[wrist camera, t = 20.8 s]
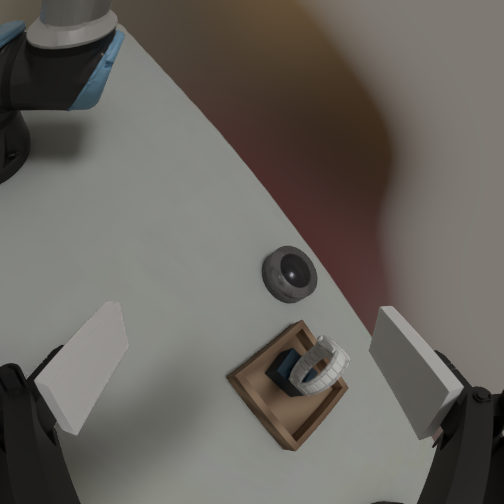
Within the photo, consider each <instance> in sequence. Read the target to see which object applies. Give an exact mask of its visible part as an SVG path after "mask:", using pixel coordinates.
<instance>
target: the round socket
mask: <svg viewBox="0 0 504 504" xmlns="http://www.w3.org/2000/svg"><path fill="white" fill-rule="evenodd" d="M262 276H263V280H264V283H265V285H266V287H267V289H268V290H269V292H270V293H271V294H272V295H273V296H274V297H275V298H277V299H278V300H280V301H282V302H285V303H296V302H298V301H300V300H302V299H303V298H305V297H307V296H309V295H310V294H312V293H313V292H314V290H315V288H316V286H317V273H316V269H315V267H314V265H313V263H312V261H311V260H310V258H309V257H308V256H307V255H306V254H305V253H304V252H302V251H301V250H300V249H298V248H295V247H292V246H283V247H280V248H278V249H277V250H276V251H275V252H274V253H273V254H272V255H270V256H269V257H268V258H267V259H266V260H265V262H264V264H263V268H262Z"/></svg>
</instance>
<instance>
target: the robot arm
mask: <svg viewBox="0 0 504 504" xmlns="http://www.w3.org/2000/svg"><path fill="white" fill-rule="evenodd" d="M111 3H112V0H42V5H41V12H40V17H38V18H37V19H36V20H35V22H33V23H32V24H31V26H30V27H29V28H28V30H27V32H25V31H24V30H25V28H26V26H25V22H24V21H19V20H18V21H12V22H8V23H5V24H2V25H0V183H2V182H4V181H5V180H7V179H8V178H10V177H11V176H12V175H13V174H14V173H16V172H17V171H18V169H19V168H20V167H21V166H22V165H23V163H24V162H25V160H26V159H27V157H28V154H29V151H30V134H29V130H28V128H27V126H26V124H25V121H24V119H23V117H22V115H21V112H20V110H66V111H71V110H86V109H90V108H92V107H94V106H95V105H96V104H97V103H98V101H99V99H100V97H101V94H102V92H103V89H104V87H105V84H106V81H107V79H108V76H109V73H110V71H111V68H112V65H113V63H114V60H115V58H116V56H117V54H118V51H119V49H120V46H121V44H122V42H123V39H124V36H125V34H124V33H123V32H120V31H118V30H115V29H116V26H117V16H116V15H115V13H114V12H112V11H111V10H110V6H111ZM128 348H129V344H128V340H127V336H126V331H125V326H124V322H123V317H122V312H121V307H120V302H113V301H107V302H106V303H105V304H104V305H103V306H102V307H101V308H100V309H99V310H98V311H97V312H96V313H95V314H94V315H93V316H92V317H91V318H90V319H89V320H88V321H87V322H86V323H85V324H84V325H83V326H82V327H81V328H80V329H79V330H78V331H77V333H76V334H75V335H74V336H73V337H72V338H71V339H70V340H69V341H68V342H67V343H66V344H65V345H61V346H59V347H58V348H56V349H54V350H53V351H52V352H51V353H50V354H49V355H48V356H47V358H45V360H44V361H43V362H42V363H41V364H40V365H39V366H38V367H37V369H36V370H35V371H34V372H33V373H32V374H31V375H30V376H29V378H28V379H27V380H26V378H25V376H24V374H23V372H22V370H21V368H20V367H19V366H18V365H17V364H14V363H8V364H5V365H3V366H1V367H0V504H81V503H80V501H79V499H78V496H77V494H76V491H75V489H74V486H73V484H72V481H71V478H70V475H69V473H68V470H67V467H66V464H65V461H64V457H63V454H62V451H61V447H60V443H59V440H58V436H57V432H56V430H55V428H54V425H55V423H56V421H57V422H58V424H59V425H60V427H61V428H62V430H64V431H66V432H69V433H71V434H74V435H76V436H77V435H78V433H79V431H80V430H81V428H82V426H83V424H84V422H85V420H86V419H87V417H88V415H89V413H90V411H91V410H92V408H93V406H94V404H95V403H96V401H97V399H98V397H99V396H100V394H101V392H102V391H103V389H104V387H105V385H106V384H107V382H108V380H109V379H110V377H111V375H112V374H113V372H114V370H115V369H116V367H117V365H118V364H119V362H120V361H121V359H122V357H123V356H124V354H125V352H126V351H127V349H128ZM369 352H370V354H371V355H372V357H373V359H374V360H375V362H376V364H377V365H378V367H379V369H380V370H381V372H382V374H383V376H384V377H385V379H386V381H387V382H388V384H389V386H390V388H391V389H392V391H393V393H394V395H395V397H396V398H397V400H398V402H399V404H400V405H401V407H402V409H403V411H404V413H405V415H406V416H407V418H408V420H409V422H410V424H411V426H412V428H413V429H414V431H415V433H416V435H417V437H418V439H419V440H421V439H424V438H427V437H429V436H432V435H434V434H435V432H436V430H437V429H438V428H439V426H441V428H442V429H443V432H442V433H441V435H440V436H439V437H438V439H437V440H436V441H435V443H434V444H433V446H432V448H434V447H435V446H436V444H437V443H438V445H437V449H436V452H435V455H434V459H433V462H432V465H431V468H430V471H429V474H428V477H427V479H426V482H425V485H424V487H423V490H422V492H421V495H420V497H419V500H418V502H417V504H504V436H503V435H502V431H503V430H504V390H503V391H502V393H501V394H493V395H492V394H491V393H490V392H489V391H488V390H487V389H485V388H483V387H472V386H471V385H470V384H469V383H468V382H467V381H466V379H465V378H464V377H463V376H462V375H461V373H460V372H459V371H458V370H457V369H455V366H454V365H453V364H451V362H450V361H449V360H448V359H447V357H446V356H445V355H443V354H442V353H440V352H438V351H437V350H436V351H433V350H432V349H431V347H430V346H429V345H428V344H427V343H426V342H425V341H424V340H423V339H422V337H421V336H420V335H419V334H418V333H417V332H416V331H415V330H414V329H413V328H412V326H411V325H410V324H409V323H408V322H407V321H406V320H405V319H404V318H403V317H402V316H401V315H400V314H399V313H398V311H397V310H396V309H395V308H394V307H393V306H385V307H380V309H379V313H378V317H377V321H376V326H375V329H374V333H373V337H372V341H371V344H370V348H369Z"/></svg>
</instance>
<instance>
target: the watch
mask: <svg viewBox="0 0 504 504" xmlns="http://www.w3.org/2000/svg"><path fill="white" fill-rule="evenodd" d="M317 340H318V341H317V342H316V343H315V346H314V347H312V348H311V349H309V350H308V351H309V352H310V353H309V352H308V351H307V352H306V353H305V354H304V355H303V356H301V355H300V354H299V353H298V352H297V351H296V350H295V349H294V348H291V349H288V350H285V351H282V352H280V353H279V355H278V356H277V357H276V359H275V360H274V361H273V363H272V364H271V365H270V367H269V368H268V369H267V371H266V372H265V374H266V375H267V376H268V377H269V378H270V379H271V380H272V381H273V382H274V383H275V384H276V385H277V386H279V387H280V388H281V389H282V390H283V391H284V392H285V393H286V394H287V395H288V396H290V397H297V396H304V395H306V396H310V395H316V394H318V393H321V392H323V391H324V390H326V389H327V388H329V387H330V386H332V385H333V384H334V383H335V382H336V380H338V379H339V378H340V377H341V374H343V372H344V371H345V368H347V367H348V365H349V363H348V362H349V361H350V358H349V356H348V355H347V353H346V352H345V351H344V350H343V349H342V348H341V347H340V346H339V345H338V344H337V343H335V342H334V341H333V340H331V339H330V338H328V337H327V336H324V335H323V336H322V335H320V336H319V337H318V338H317ZM317 354H318V355H317ZM325 357H327V358H328V359H330V362H329V363H328V364H327V366H326V367H325V369H326V370H325V369H323V370H322V371H321V372H320V373H319V375H317V374H318V372H317V371H316V370H315V369H314V368H313V366H314V365H315V364H316V363H318V361H320V360H322V359H323V358H325ZM316 375H317V376H316Z"/></svg>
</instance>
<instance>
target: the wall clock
mask: <svg viewBox="0 0 504 504" xmlns="http://www.w3.org/2000/svg"><path fill="white" fill-rule="evenodd" d="M372 504H403V503H398V502H376V503H372Z"/></svg>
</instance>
